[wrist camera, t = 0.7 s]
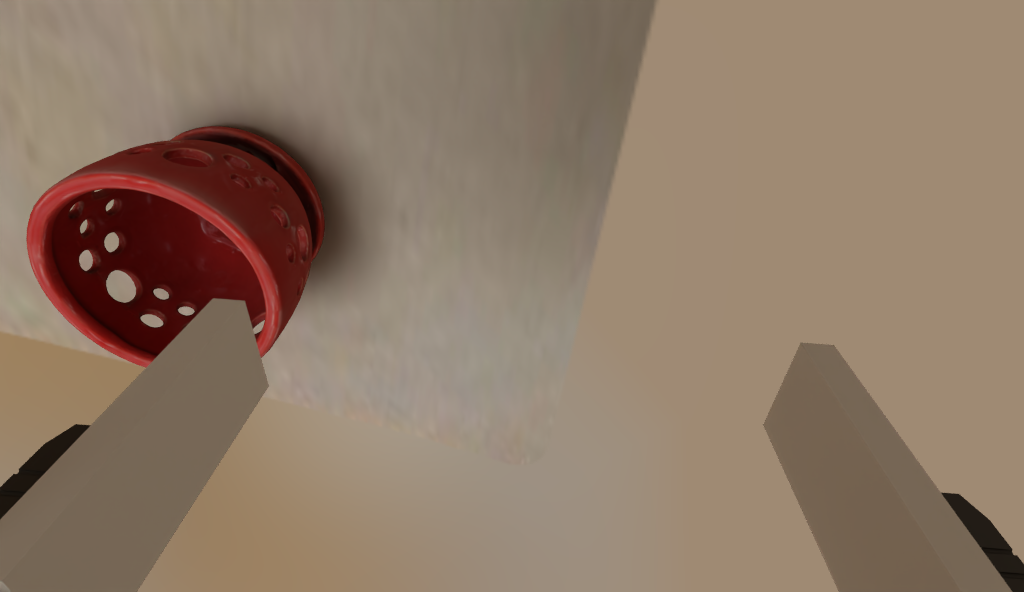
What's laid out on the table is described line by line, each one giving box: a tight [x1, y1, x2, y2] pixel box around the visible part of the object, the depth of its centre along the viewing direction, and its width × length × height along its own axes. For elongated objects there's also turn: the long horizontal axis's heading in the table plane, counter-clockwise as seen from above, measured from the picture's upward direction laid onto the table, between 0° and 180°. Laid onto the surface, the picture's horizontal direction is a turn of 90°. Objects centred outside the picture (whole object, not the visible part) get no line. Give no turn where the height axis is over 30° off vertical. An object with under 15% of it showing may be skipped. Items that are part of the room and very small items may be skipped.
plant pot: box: [27, 126, 325, 368], centre depth 33 cm, size 13×13×12 cm
